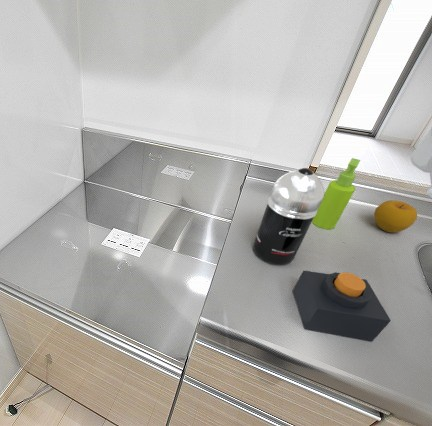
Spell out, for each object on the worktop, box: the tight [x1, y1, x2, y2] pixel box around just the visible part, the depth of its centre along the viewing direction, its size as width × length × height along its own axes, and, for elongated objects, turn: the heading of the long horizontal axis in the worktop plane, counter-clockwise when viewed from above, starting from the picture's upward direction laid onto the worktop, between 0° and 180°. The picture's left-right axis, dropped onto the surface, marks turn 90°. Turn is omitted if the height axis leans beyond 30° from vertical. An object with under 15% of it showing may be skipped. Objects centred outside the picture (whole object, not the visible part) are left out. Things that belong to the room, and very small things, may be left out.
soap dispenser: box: [311, 157, 361, 230], centre depth 82 cm, size 6×7×20 cm
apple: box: [373, 199, 418, 234], centre depth 82 cm, size 8×8×9 cm
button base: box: [292, 270, 392, 343], centre depth 60 cm, size 12×10×9 cm
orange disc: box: [334, 272, 366, 297], centre depth 57 cm, size 4×4×2 cm
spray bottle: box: [252, 167, 325, 266], centre depth 70 cm, size 10×10×25 cm
